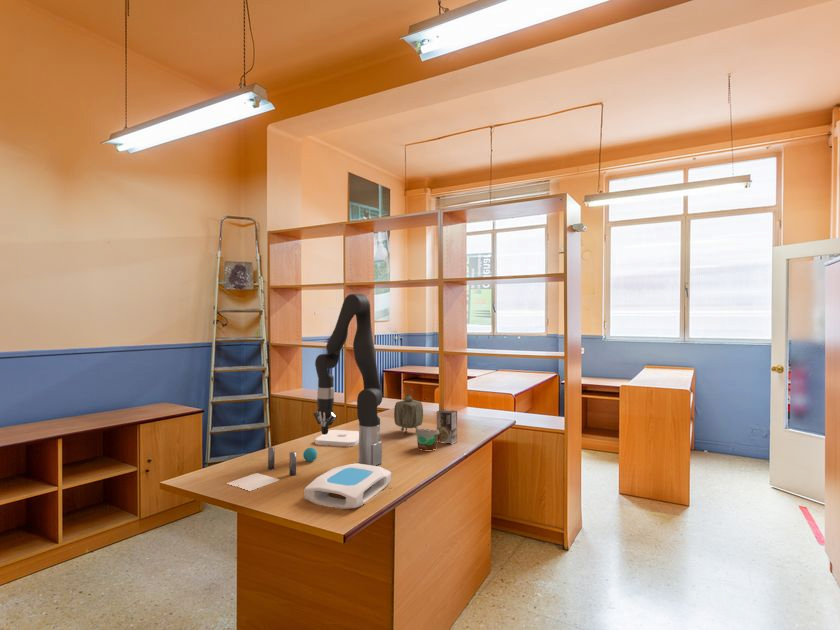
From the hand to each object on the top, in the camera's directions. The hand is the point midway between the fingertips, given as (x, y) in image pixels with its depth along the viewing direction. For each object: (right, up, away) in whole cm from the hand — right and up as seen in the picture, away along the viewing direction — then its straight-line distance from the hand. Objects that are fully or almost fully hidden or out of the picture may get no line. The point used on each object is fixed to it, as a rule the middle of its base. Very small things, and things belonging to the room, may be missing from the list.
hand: (324, 434), depth 209 cm
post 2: (-8, -10, -25) cm, 28 cm away
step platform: (+18, -11, -43) cm, 48 cm away
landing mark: (-21, -10, -34) cm, 41 cm away
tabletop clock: (+37, -11, +42) cm, 57 cm away
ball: (-5, -7, -8) cm, 12 cm away
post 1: (-19, -10, -18) cm, 28 cm away
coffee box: (+58, -11, +24) cm, 64 cm away
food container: (+47, -11, +10) cm, 49 cm away
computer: (+3, -11, +27) cm, 29 cm away
